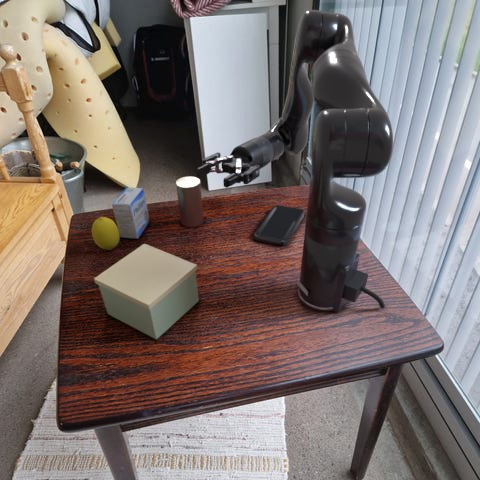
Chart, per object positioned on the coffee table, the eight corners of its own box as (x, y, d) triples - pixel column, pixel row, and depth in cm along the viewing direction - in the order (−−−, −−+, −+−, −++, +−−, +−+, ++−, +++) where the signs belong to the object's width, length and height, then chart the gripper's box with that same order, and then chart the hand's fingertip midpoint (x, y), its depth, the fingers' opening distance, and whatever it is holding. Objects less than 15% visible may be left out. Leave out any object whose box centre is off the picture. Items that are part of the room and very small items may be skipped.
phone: (252, 235, 93) (275, 203, 103) (252, 239, 94) (275, 208, 104) (286, 242, 91) (306, 209, 101) (286, 247, 92) (305, 214, 102)
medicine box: (138, 239, 95) (130, 205, 89) (119, 237, 96) (111, 203, 90) (150, 221, 101) (144, 187, 95) (133, 220, 101) (125, 186, 95)
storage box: (201, 300, 80) (197, 264, 74) (156, 341, 72) (148, 305, 66) (151, 278, 85) (144, 243, 79) (105, 314, 77) (93, 278, 72)
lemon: (92, 254, 91) (82, 221, 86) (106, 240, 95) (97, 208, 90) (114, 259, 90) (105, 226, 84) (127, 245, 94) (119, 213, 88)
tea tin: (208, 219, 101) (205, 180, 94) (194, 229, 98) (189, 189, 91) (190, 213, 103) (186, 174, 96) (176, 223, 100) (170, 183, 93)
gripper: (231, 134, 109) (187, 155, 100) (276, 147, 102) (233, 171, 93) (231, 163, 114) (190, 185, 105) (274, 177, 107) (234, 202, 98)
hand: (211, 178), depth 99 cm, fingers open, 8 cm apart
